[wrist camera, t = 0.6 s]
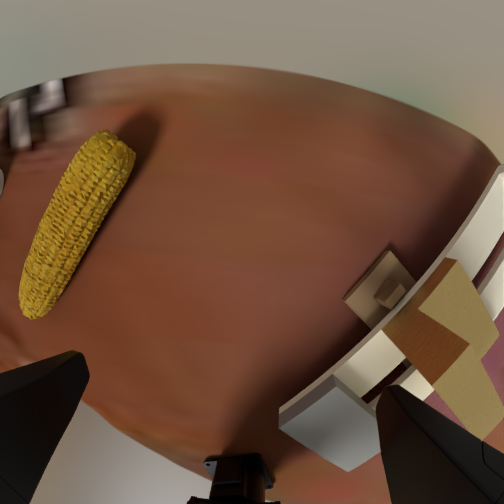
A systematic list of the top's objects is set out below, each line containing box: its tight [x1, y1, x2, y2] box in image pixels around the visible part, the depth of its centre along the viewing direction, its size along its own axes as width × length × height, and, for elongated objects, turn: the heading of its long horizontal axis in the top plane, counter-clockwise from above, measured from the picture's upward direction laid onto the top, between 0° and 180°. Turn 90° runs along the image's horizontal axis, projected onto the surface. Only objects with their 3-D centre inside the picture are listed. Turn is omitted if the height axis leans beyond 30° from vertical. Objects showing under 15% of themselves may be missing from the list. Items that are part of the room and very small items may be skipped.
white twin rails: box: [278, 164, 504, 472], centre depth 19 cm, size 32×10×3 cm, turn 136°
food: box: [18, 129, 136, 320], centre depth 21 cm, size 21×6×6 cm, turn 145°
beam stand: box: [342, 250, 435, 394], centre depth 21 cm, size 6×16×4 cm, turn 46°
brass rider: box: [381, 257, 504, 441], centre depth 15 cm, size 8×10×10 cm
